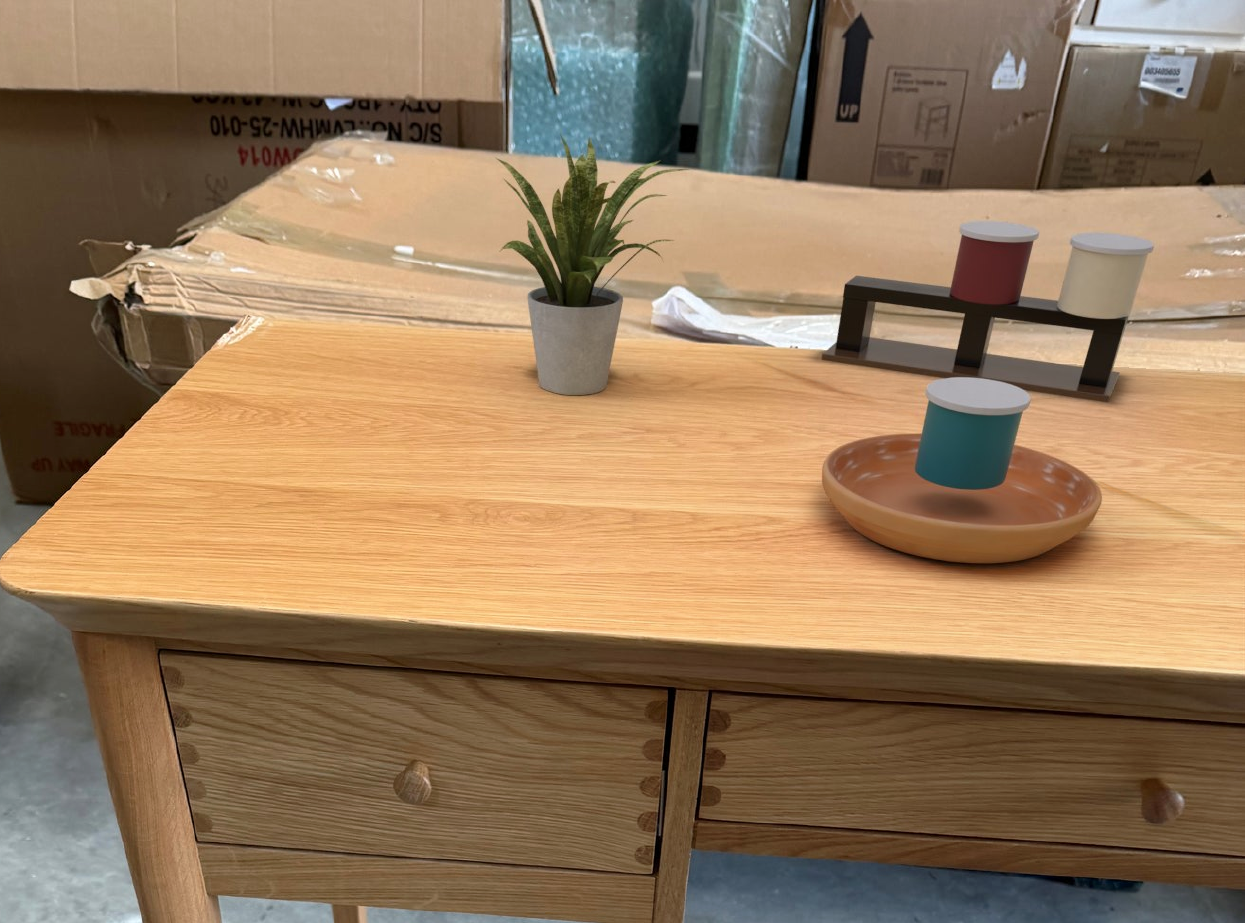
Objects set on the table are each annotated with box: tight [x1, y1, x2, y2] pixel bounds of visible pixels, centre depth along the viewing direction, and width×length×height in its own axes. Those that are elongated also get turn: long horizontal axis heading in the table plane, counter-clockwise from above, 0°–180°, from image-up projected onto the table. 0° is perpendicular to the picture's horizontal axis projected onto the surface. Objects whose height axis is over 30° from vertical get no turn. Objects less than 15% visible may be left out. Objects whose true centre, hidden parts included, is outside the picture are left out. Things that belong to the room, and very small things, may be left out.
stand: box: [821, 275, 1130, 403], centre depth 94 cm, size 7×22×6 cm, turn 64°
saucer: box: [821, 432, 1103, 564], centre depth 72 cm, size 16×16×3 cm
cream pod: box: [1057, 232, 1155, 319], centre depth 88 cm, size 6×6×5 cm
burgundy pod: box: [950, 220, 1040, 305], centre depth 91 cm, size 6×6×5 cm
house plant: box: [495, 134, 690, 396], centre depth 86 cm, size 14×14×16 cm
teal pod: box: [915, 377, 1032, 490], centre depth 69 cm, size 6×6×5 cm
